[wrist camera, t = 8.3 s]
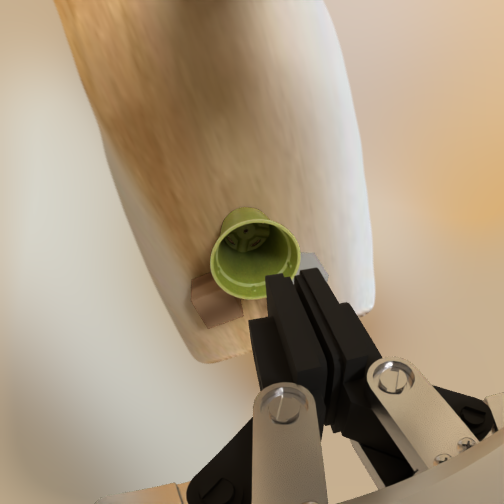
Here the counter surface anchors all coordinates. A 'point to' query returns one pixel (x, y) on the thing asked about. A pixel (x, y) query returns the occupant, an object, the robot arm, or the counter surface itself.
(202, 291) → the walnut block
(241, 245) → the plant pot
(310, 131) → the counter surface
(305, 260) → the slate block
